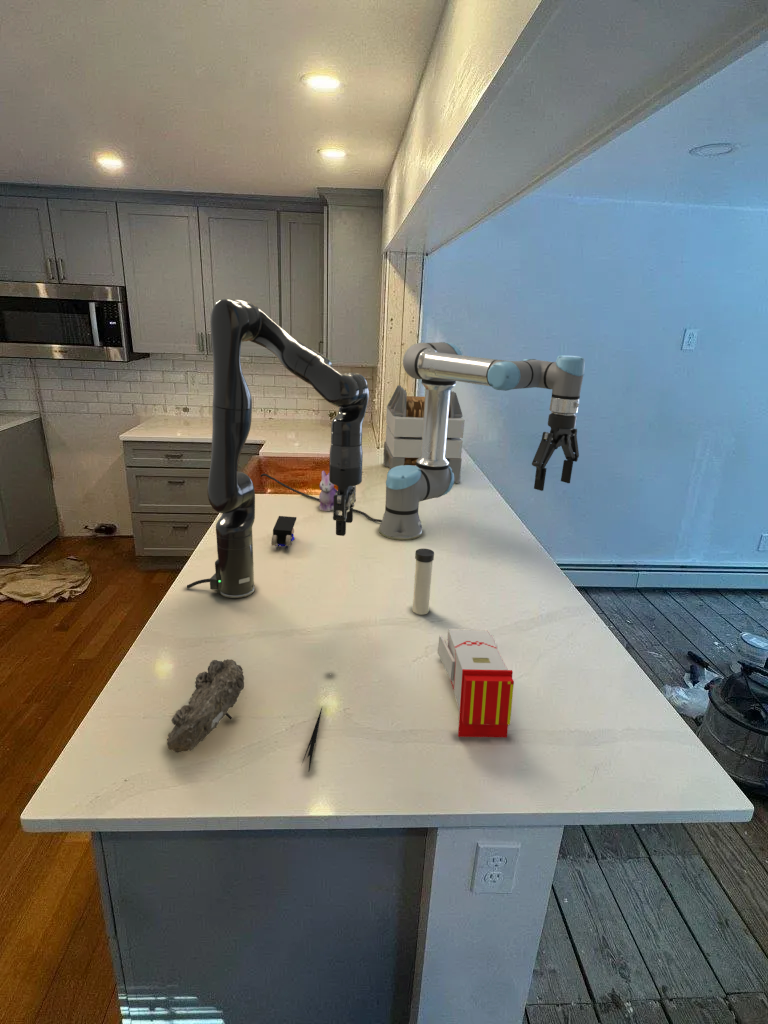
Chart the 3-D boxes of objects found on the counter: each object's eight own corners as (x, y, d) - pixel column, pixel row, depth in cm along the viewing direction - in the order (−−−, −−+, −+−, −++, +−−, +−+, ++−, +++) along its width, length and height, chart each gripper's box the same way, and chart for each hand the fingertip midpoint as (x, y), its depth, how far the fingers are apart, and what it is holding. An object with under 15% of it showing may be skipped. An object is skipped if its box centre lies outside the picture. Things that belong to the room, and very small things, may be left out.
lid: (436, 561, 143) (436, 555, 142) (417, 562, 142) (418, 556, 141) (430, 554, 147) (431, 548, 147) (412, 555, 146) (413, 548, 146)
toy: (488, 613, 130) (523, 677, 101) (484, 667, 133) (517, 744, 104) (435, 612, 130) (455, 676, 101) (432, 666, 133) (451, 743, 103)
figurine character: (291, 556, 181) (297, 534, 194) (291, 536, 177) (297, 514, 191) (270, 556, 181) (278, 533, 194) (269, 535, 177) (277, 513, 191)
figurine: (322, 513, 216) (323, 475, 211) (313, 504, 224) (313, 468, 219) (345, 510, 220) (346, 473, 215) (335, 502, 229) (335, 466, 223)
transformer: (382, 463, 289) (386, 382, 275) (445, 464, 293) (451, 384, 279) (390, 482, 257) (394, 392, 243) (460, 483, 261) (468, 394, 247)
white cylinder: (430, 614, 148) (435, 556, 143) (414, 615, 147) (418, 557, 142) (426, 606, 152) (430, 550, 147) (410, 607, 151) (414, 550, 146)
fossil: (192, 660, 117) (244, 628, 112) (224, 691, 120) (276, 661, 115) (142, 746, 98) (202, 712, 93) (182, 779, 101) (242, 748, 96)
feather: (331, 679, 122) (336, 673, 122) (307, 777, 96) (313, 769, 95) (324, 675, 122) (329, 669, 121) (298, 772, 95) (304, 764, 95)
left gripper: (336, 454, 137) (335, 517, 142) (322, 469, 123) (321, 538, 129) (367, 456, 136) (364, 519, 141) (356, 472, 123) (354, 541, 128)
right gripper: (548, 419, 148) (537, 496, 155) (598, 411, 163) (586, 482, 171) (525, 414, 153) (515, 489, 160) (575, 407, 169) (564, 476, 176)
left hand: (344, 528), depth 135 cm, fingers open, 8 cm apart
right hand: (552, 485), depth 166 cm, fingers open, 13 cm apart
